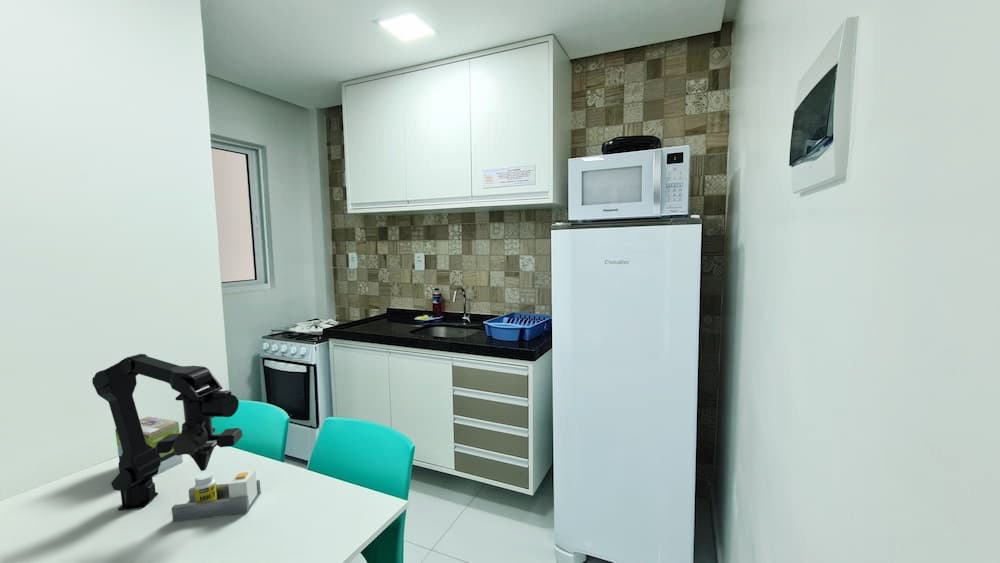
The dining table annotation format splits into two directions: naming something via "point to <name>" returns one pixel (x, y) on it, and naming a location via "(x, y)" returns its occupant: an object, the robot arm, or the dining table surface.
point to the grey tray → (213, 505)
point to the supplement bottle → (205, 487)
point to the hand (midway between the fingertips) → (203, 470)
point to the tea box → (158, 439)
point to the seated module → (243, 485)
